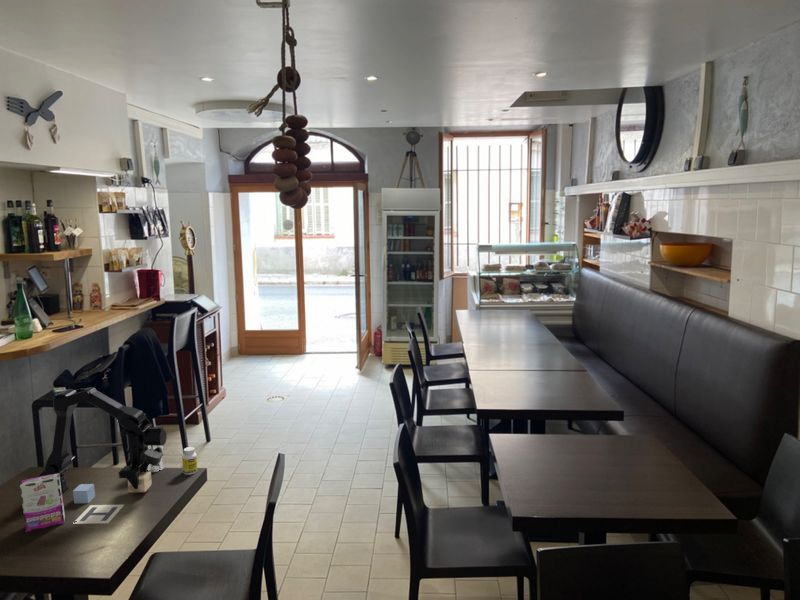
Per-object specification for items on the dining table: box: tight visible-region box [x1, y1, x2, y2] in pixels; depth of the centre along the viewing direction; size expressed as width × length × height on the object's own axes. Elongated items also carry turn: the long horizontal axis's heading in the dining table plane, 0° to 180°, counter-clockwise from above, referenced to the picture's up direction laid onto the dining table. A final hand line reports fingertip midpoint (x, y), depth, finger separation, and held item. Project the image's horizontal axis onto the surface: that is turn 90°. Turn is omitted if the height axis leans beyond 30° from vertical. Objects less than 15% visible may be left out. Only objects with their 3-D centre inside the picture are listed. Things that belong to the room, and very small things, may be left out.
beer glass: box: [147, 445, 164, 473], centre depth 234 cm, size 7×7×15 cm
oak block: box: [127, 471, 153, 493], centre depth 216 cm, size 6×6×5 cm
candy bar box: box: [19, 473, 66, 533], centre depth 194 cm, size 11×5×16 cm, turn 117°
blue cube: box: [72, 483, 96, 504], centre depth 211 cm, size 5×5×5 cm
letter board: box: [72, 504, 125, 525], centre depth 202 cm, size 12×12×1 cm
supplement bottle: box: [182, 446, 198, 476], centre depth 232 cm, size 5×5×10 cm
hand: (139, 484), depth 216 cm, fingers closed on oak block, 6 cm apart
